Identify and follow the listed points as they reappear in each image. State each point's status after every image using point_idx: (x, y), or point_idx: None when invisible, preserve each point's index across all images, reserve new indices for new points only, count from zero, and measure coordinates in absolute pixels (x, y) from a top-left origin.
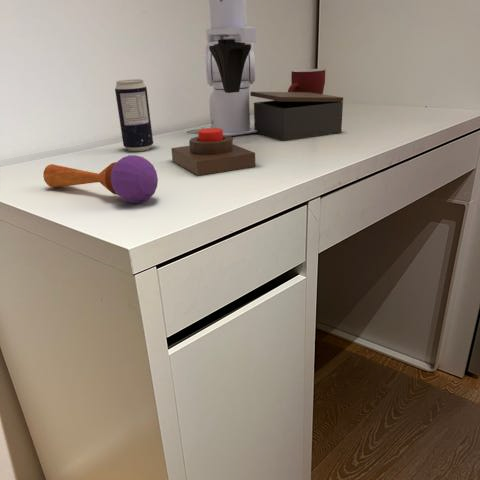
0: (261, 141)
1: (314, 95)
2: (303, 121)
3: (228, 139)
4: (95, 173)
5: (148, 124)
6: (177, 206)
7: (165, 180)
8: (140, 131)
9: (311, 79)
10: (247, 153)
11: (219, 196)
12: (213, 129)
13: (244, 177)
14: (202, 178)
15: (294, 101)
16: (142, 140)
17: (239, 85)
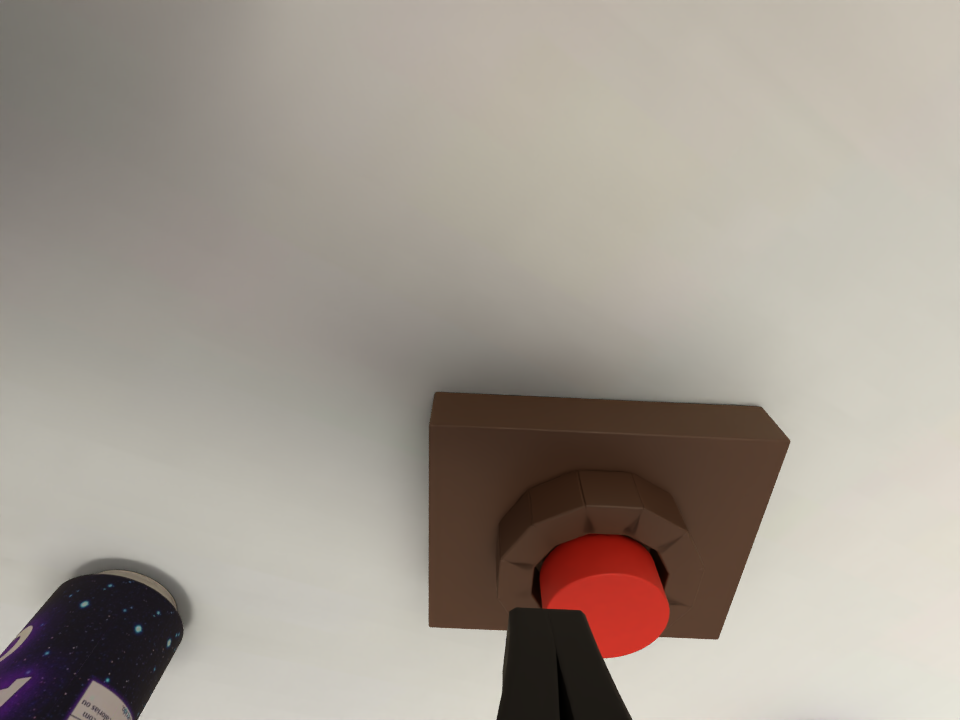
0: (220, 52)
1: None
2: None
3: (680, 542)
4: None
5: (104, 673)
6: (915, 712)
7: (667, 666)
8: (148, 680)
9: None
10: (776, 472)
11: (948, 629)
12: (601, 604)
13: (852, 503)
14: (738, 595)
15: None
16: (167, 641)
17: (599, 659)
